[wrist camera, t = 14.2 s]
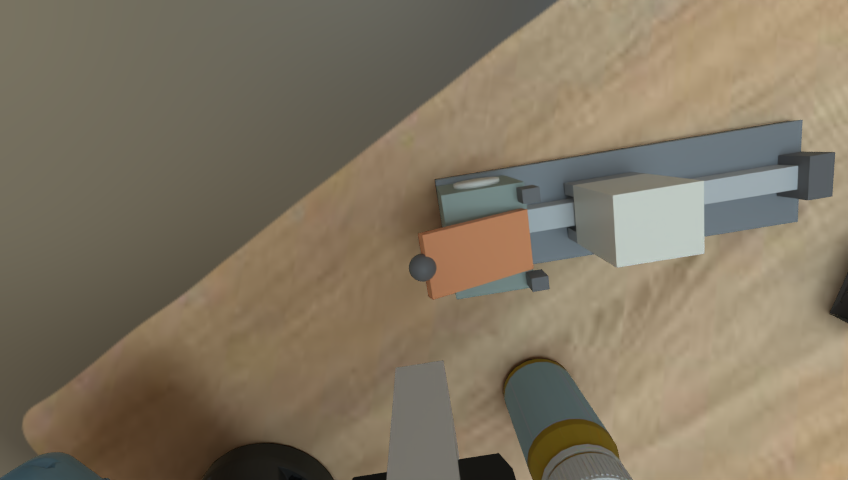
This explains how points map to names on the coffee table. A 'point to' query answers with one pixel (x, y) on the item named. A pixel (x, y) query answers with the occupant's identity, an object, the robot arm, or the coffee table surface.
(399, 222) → the coffee table surface
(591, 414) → the bottle
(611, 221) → the carriage
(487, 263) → the lever
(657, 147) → the rail bench
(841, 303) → the electrical switch
